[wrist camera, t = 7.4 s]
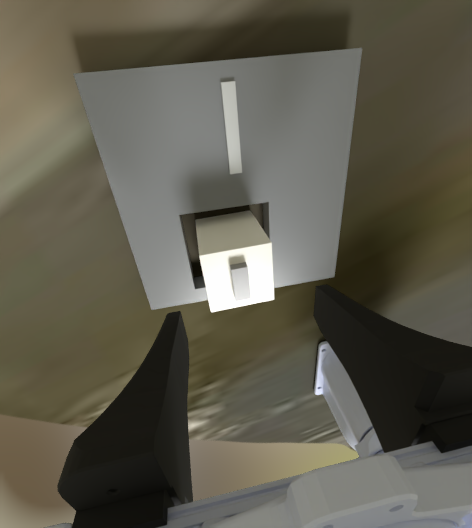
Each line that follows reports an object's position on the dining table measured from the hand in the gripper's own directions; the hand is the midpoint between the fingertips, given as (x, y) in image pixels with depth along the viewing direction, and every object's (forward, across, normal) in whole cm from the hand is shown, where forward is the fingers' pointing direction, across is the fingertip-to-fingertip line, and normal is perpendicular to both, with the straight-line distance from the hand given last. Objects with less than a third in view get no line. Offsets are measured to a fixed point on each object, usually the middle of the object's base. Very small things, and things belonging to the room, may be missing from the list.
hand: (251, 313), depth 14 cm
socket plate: (+9, -1, -4) cm, 10 cm away
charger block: (+9, 0, 0) cm, 9 cm away
